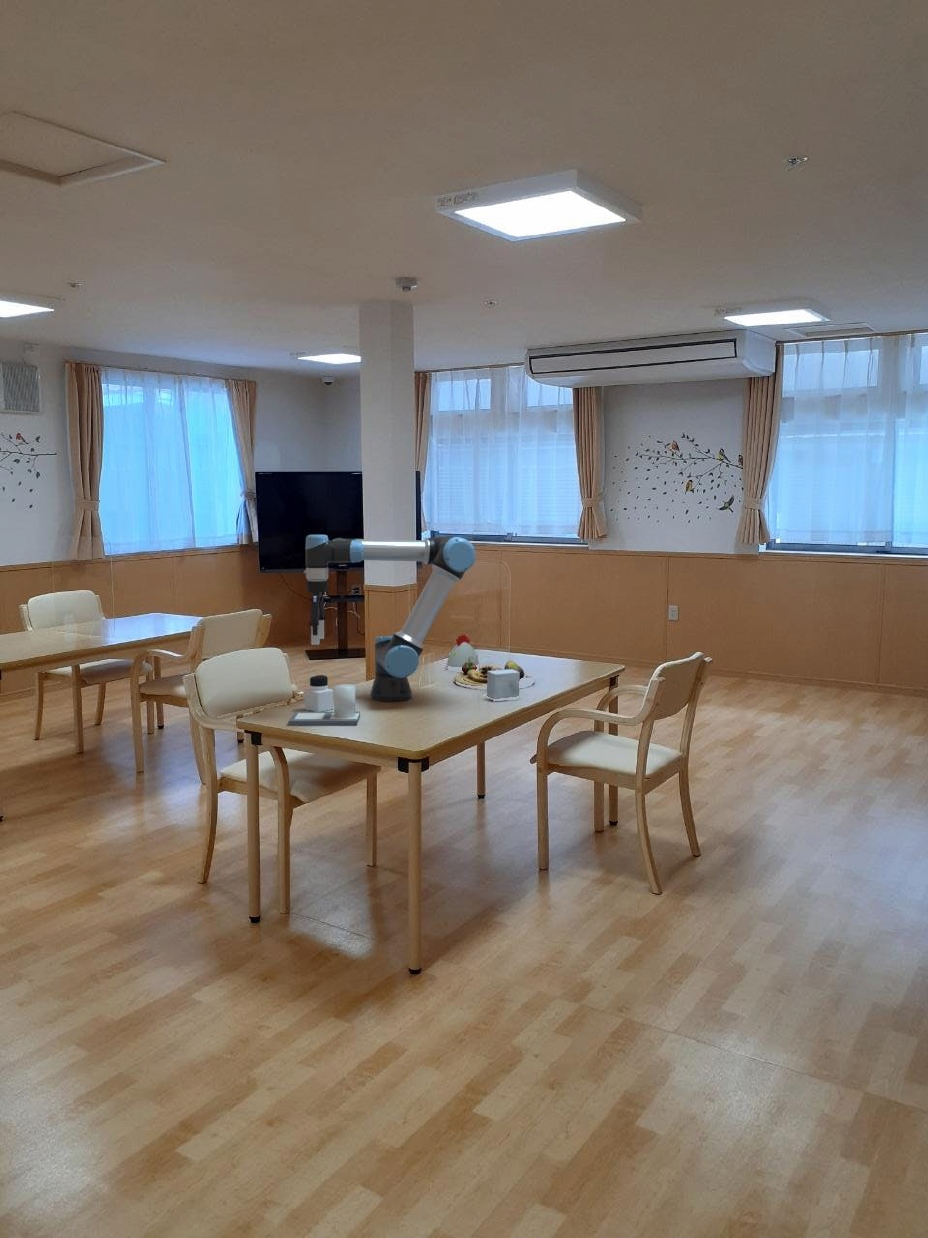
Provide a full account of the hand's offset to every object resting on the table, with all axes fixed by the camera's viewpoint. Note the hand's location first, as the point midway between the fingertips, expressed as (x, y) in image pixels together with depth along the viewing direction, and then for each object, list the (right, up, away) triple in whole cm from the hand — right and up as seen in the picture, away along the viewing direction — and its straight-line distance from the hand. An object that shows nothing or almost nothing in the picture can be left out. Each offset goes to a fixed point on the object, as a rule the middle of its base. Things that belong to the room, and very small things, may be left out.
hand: (317, 641), depth 349 cm
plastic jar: (+11, -24, -14) cm, 30 cm away
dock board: (+4, -26, -14) cm, 30 cm away
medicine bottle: (0, -24, +3) cm, 24 cm away
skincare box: (+65, -22, +21) cm, 71 cm away
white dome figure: (+50, -14, +82) cm, 97 cm away
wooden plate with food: (+62, -18, +54) cm, 84 cm away
